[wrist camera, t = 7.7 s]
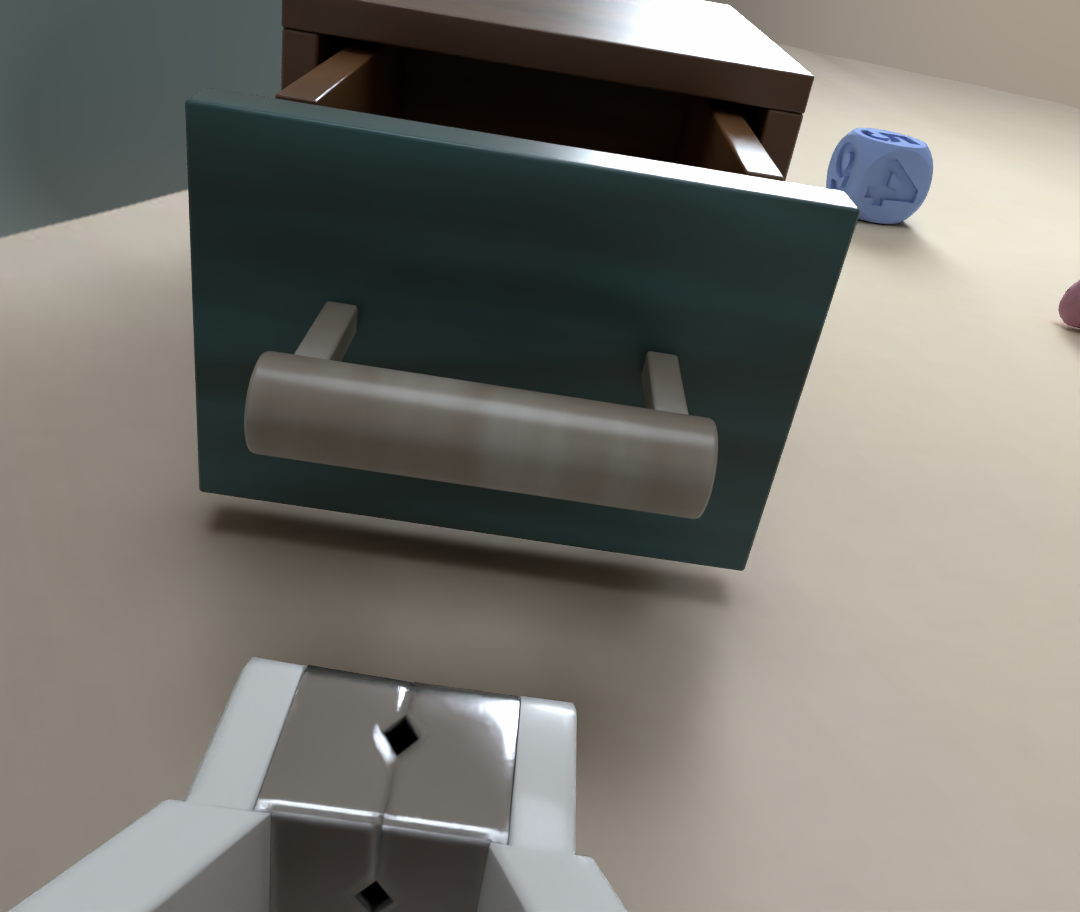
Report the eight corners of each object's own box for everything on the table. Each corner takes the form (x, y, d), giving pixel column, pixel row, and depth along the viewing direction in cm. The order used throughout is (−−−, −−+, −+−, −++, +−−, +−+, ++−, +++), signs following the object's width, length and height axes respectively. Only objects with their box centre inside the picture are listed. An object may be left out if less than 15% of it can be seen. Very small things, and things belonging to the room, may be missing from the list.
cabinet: (716, 428, 28) (815, 76, 23) (277, 361, 28) (281, -14, 23) (674, 251, 42) (730, 5, 37) (379, 204, 41) (395, -52, 36)
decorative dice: (916, 228, 51) (943, 152, 49) (847, 220, 51) (871, 143, 49) (883, 205, 55) (908, 132, 53) (818, 197, 54) (840, 123, 52)
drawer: (780, 727, 17) (944, 306, 13) (108, 633, 16) (59, 164, 12) (684, 312, 33) (743, 69, 29) (347, 258, 33) (359, 4, 29)
